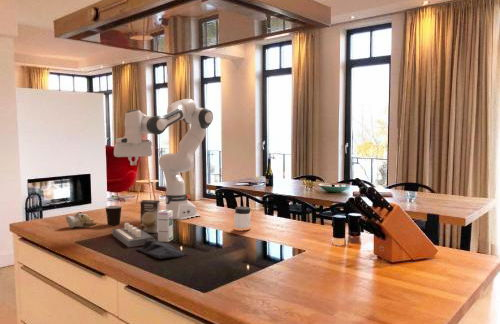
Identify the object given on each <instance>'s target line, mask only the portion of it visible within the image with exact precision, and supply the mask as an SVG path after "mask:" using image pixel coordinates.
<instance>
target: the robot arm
mask: <svg viewBox="0 0 500 324" xmlns="http://www.w3.org/2000/svg"><path fill="white" fill-rule="evenodd" d="M213 114H214V113H213V112H212V111H211V110H210V109H208V108H204V107H198V106H197V104H196V103H195V101H194V100H193V99H191V98H183V99H180V100H176V101H174V102H172V103H171V104H170V105H168V106H167V109H166V114H164V115H154V116H153V115H151V116H150V115H148V116H147V115H146V114H145V113H143V112H142V111H141V110H140V109H129V110H126V112H125V114H124V128H125V132H124V136H121V137H118V138H116V139H115V144H114V148H113V156H114V157H116V158H127V159H128V161H129V162H130V163H129V165H130V166H137V164H138V163H137V162H138V160H139V157H152V155H153V149H152V146H153V142H152V141H151V140H150V139H143V136H142V135H143V134H147V135H149V134H150V135H161V134H163V133H164V132H165V131H166V129H168V127H170V126H172V125H174V124H175V123H176V122H179V121H181V120H182V121H183V122H184V123H185V124H189V125H190V127H189V130H187V132H186V133H185V135H183V136H182V138H181V140H180V141H179V142H178V147H179V148H178V151H177V152H176V153H170V152H169V153H165V154H162V155H161V156H160V157H159V160H158V164H159V167H160V168H161V169H162V171H163V174H164V175H163V176H164V178H165V186H166V187H165V192H166V193H165V197H164V198H165V209H164V210H173V220H181V221H182V220H188V219H187V218H189V219H192V218H191V217H194V218H196V217H195V216H199V215H200V216H201V214H200V213H199V212H198V210H197V207H196V205H195V204H193V203H192V202H191V201H190V200H188V199H190V198H191V195H190V194H186V193H185V192H186V191H185V186H186V185H185V183H186V182H185V180H184V179H183V177H182V175H181V173H187V172H189V171H191V170H192V168H193V165H194V164H193V163H194V162H193V157H194V154H195V152H196V151H197V149H199V146H200V145H201V144H202V142H203V141H204V139H205V137H206V134H207V130H206V129H207V128H209V127H210V125H211V124H212V122H213V119H214V115H213ZM133 157H134V161H133V160H132V159H133ZM198 214H199V215H198Z"/></svg>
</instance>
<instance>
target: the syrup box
mask: <svg viewBox="0 0 500 324" xmlns="http://www.w3.org/2000/svg"><path fill="white" fill-rule="evenodd" d="M157 214H158V232H157V241H160V242H163V243H169V242H171V241H172V240H174V219H173V210H165V209H162V210H159V212H157Z"/></svg>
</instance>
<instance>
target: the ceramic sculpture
mask: <svg viewBox="0 0 500 324" xmlns="http://www.w3.org/2000/svg"><path fill="white" fill-rule="evenodd" d="M65 216H66V223H67V226H68V227H69V228H70V229H73V228H75V227H76V228H86V227H88V228H89V227H90V228H91V227H94V226H96V225H97V224H98V223H96V222H95V220H94V219H90V216H89V215H88V214H85V213H82V212H81V211H79V212H77V213H76V214H75V215H68V214H66V215H65Z"/></svg>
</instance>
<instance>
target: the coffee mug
mask: <svg viewBox="0 0 500 324" xmlns="http://www.w3.org/2000/svg"><path fill="white" fill-rule="evenodd" d="M122 208H123V207H122V205H107V206H105V213H106V221H107V226H109V225H112V226H111V227H116V225H117V226H119V224H121V216H122Z"/></svg>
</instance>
